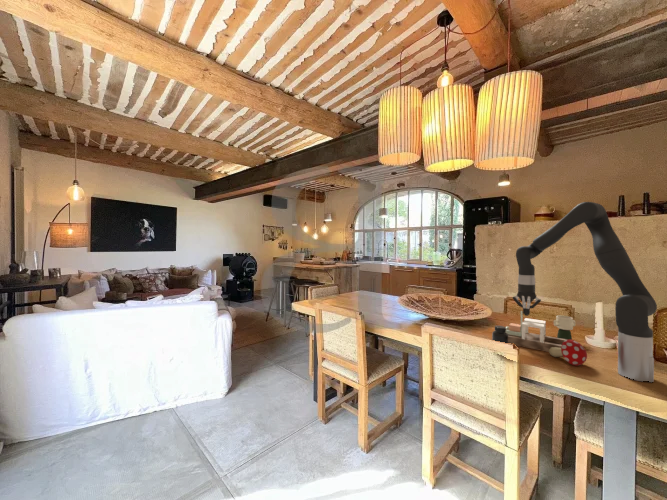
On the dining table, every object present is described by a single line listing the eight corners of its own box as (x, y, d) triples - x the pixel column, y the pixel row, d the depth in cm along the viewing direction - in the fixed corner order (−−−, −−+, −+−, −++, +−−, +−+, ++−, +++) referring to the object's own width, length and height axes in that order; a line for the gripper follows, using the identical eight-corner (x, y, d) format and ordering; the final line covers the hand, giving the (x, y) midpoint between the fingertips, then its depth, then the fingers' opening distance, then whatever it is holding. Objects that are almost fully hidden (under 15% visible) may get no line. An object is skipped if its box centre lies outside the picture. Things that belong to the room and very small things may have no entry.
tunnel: (545, 335, 144) (545, 321, 144) (543, 342, 134) (543, 327, 134) (525, 332, 150) (525, 318, 150) (521, 338, 140) (521, 323, 140)
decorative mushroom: (542, 335, 132) (573, 334, 118) (561, 347, 132) (595, 347, 118) (538, 356, 127) (570, 358, 113) (558, 368, 127) (593, 371, 113)
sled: (523, 332, 149) (523, 310, 148) (521, 336, 143) (521, 312, 142) (506, 329, 154) (506, 307, 154) (503, 333, 148) (503, 310, 148)
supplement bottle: (492, 351, 134) (492, 327, 134) (491, 346, 140) (491, 324, 140) (508, 353, 131) (508, 329, 131) (507, 349, 137) (507, 325, 137)
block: (521, 333, 148) (521, 324, 148) (520, 336, 144) (520, 326, 144) (510, 331, 151) (510, 323, 151) (509, 334, 148) (509, 325, 147)
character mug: (569, 338, 151) (570, 315, 151) (580, 342, 144) (580, 318, 144) (549, 337, 153) (549, 315, 152) (558, 342, 145) (558, 318, 145)
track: (568, 347, 138) (569, 339, 138) (568, 356, 128) (568, 347, 128) (505, 335, 157) (505, 328, 157) (500, 342, 146) (500, 334, 146)
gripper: (510, 283, 146) (510, 314, 146) (541, 285, 137) (541, 318, 137) (513, 281, 151) (513, 312, 152) (542, 283, 142) (542, 315, 143)
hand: (526, 315), depth 144 cm, fingers closed
